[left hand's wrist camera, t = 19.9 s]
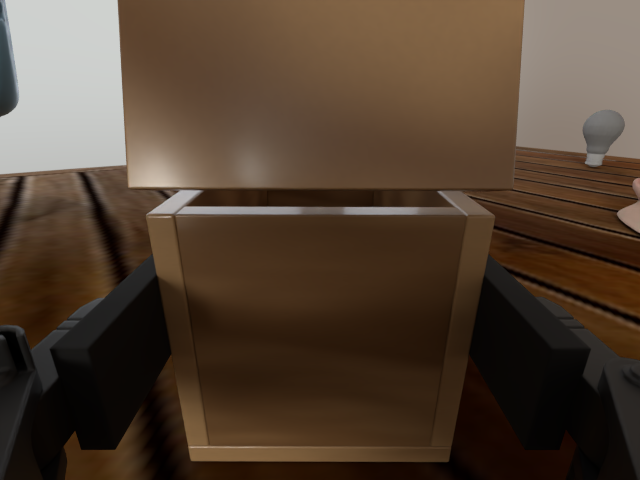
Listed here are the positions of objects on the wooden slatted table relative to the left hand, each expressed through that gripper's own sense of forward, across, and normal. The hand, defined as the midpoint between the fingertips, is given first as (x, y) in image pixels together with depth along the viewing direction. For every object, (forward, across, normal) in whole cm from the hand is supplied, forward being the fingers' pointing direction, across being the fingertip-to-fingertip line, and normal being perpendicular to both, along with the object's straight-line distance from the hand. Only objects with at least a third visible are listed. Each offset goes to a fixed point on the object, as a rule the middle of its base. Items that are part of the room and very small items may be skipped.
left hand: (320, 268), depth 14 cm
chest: (+5, 0, -6) cm, 8 cm away
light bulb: (+57, +51, -6) cm, 77 cm away
